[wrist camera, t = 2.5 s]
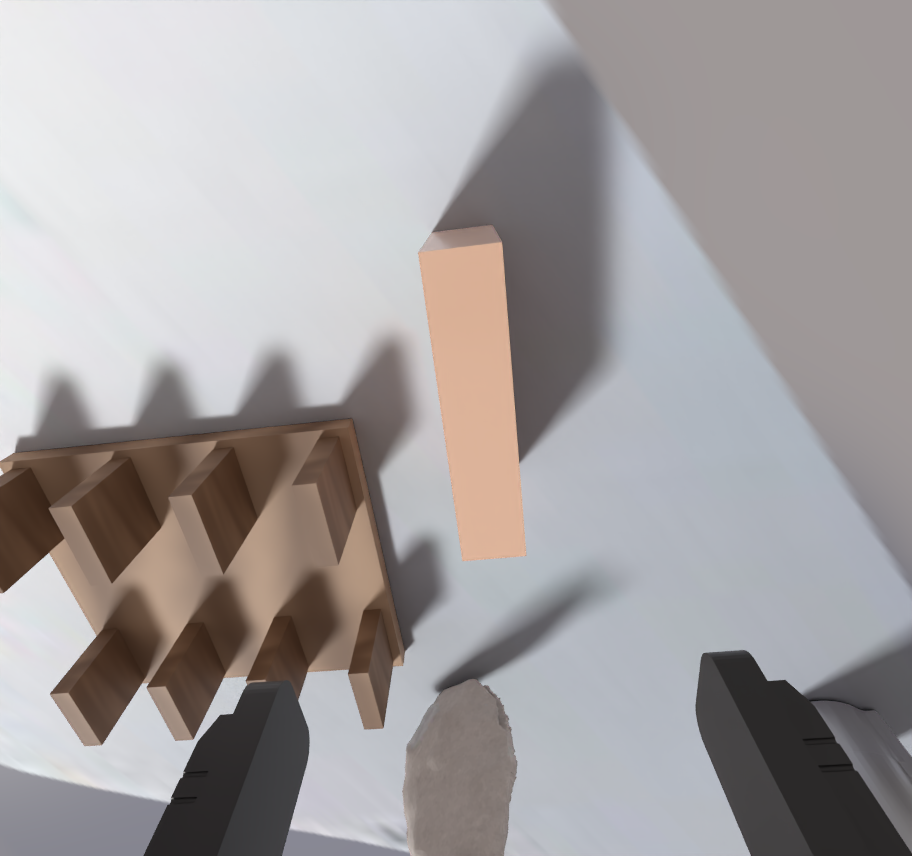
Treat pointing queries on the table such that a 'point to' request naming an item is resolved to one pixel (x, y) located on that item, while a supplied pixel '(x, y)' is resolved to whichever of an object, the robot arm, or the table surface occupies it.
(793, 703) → the robot arm
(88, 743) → the drying rack
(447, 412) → the peach rectangular block
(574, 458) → the table surface
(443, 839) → the stone tool
